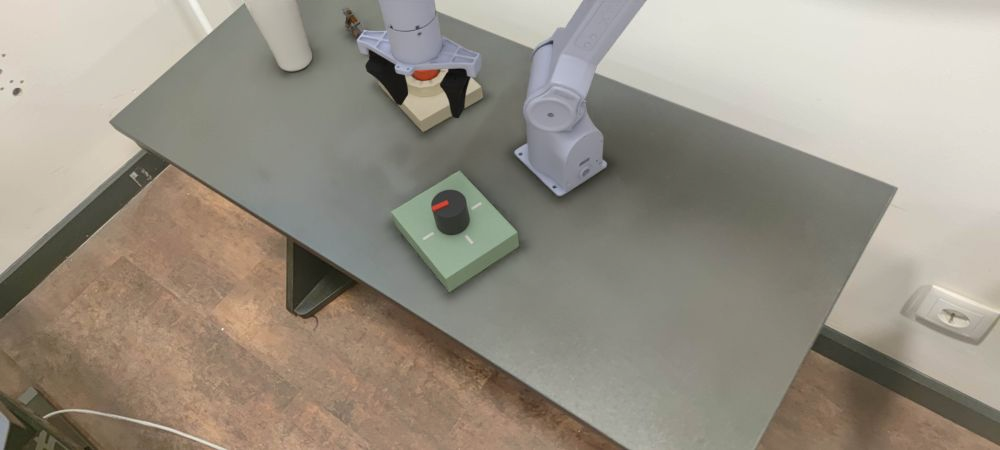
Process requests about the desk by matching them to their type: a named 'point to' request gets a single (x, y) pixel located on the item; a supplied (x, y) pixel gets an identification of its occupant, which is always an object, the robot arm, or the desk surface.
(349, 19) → the wooden post with brackets
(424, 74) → the power button
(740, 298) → the desk surface
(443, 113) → the push button base
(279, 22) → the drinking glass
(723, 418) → the desk surface
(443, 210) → the dial
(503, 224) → the dial panel
